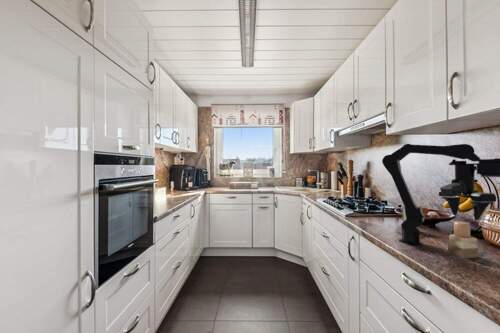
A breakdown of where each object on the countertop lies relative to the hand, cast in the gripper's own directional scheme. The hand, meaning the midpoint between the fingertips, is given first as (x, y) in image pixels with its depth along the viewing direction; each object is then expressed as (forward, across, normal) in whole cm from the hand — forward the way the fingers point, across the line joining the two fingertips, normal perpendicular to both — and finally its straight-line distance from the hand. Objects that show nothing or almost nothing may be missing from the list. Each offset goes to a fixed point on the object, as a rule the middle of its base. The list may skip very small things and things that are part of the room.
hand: (465, 217), depth 97 cm
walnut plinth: (+13, +4, -5) cm, 15 cm away
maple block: (+10, +4, -5) cm, 11 cm away
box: (+13, -31, 0) cm, 34 cm away
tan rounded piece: (+6, +3, -5) cm, 8 cm away
